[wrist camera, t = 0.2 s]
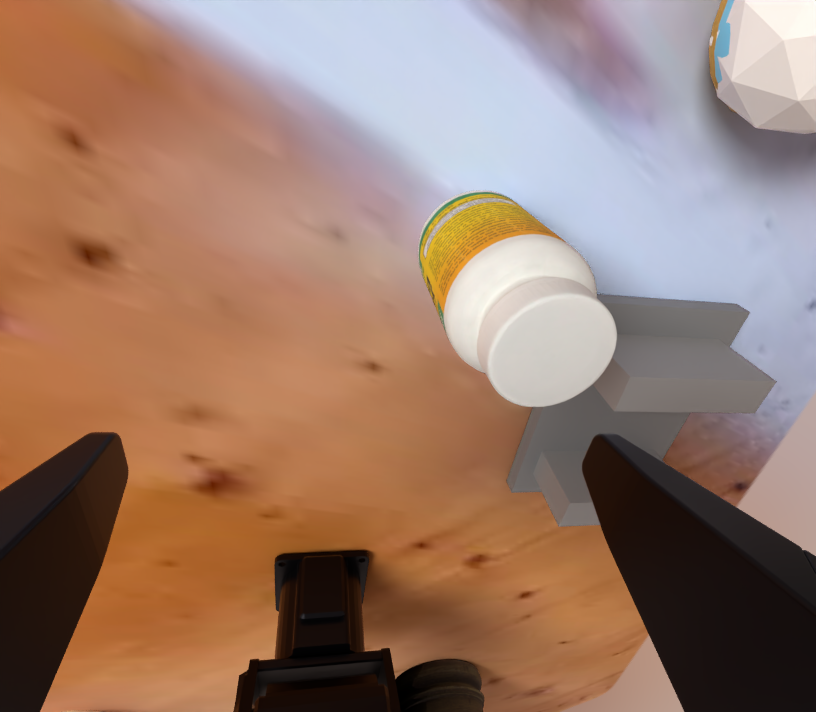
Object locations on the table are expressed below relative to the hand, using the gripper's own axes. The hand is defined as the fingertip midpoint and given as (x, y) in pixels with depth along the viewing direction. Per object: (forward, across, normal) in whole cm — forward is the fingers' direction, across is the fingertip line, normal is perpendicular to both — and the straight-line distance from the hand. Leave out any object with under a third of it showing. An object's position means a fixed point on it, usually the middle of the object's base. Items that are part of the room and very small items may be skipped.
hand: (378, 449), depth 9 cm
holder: (+14, -17, +9) cm, 24 cm away
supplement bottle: (+14, -6, 0) cm, 15 cm away
